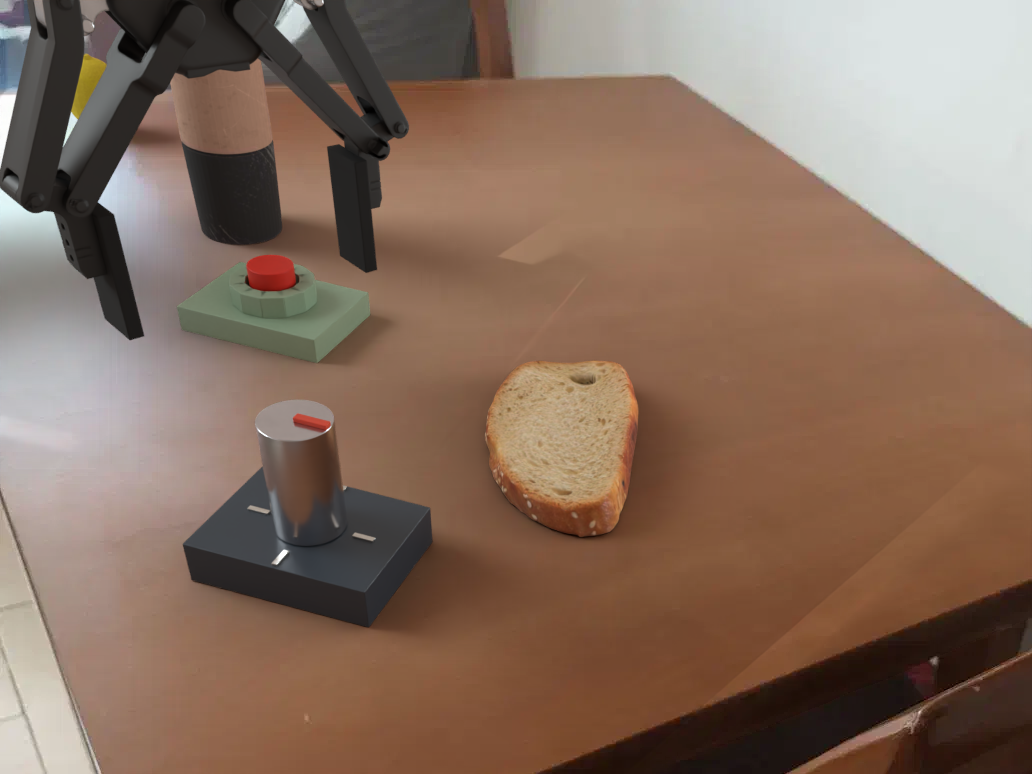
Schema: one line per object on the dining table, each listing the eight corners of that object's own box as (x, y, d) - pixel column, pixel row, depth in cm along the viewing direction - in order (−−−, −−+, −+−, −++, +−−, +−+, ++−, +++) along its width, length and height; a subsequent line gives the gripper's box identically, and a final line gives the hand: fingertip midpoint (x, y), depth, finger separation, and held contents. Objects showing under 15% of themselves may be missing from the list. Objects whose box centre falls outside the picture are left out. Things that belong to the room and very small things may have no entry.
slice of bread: (580, 552, 77) (582, 510, 75) (405, 441, 84) (402, 399, 82) (736, 451, 89) (742, 411, 87) (572, 361, 96) (573, 322, 94)
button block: (181, 330, 92) (171, 285, 89) (243, 284, 99) (236, 241, 96) (317, 363, 91) (311, 319, 88) (370, 315, 98) (366, 272, 95)
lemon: (61, 133, 117) (40, 53, 112) (104, 119, 121) (86, 41, 116) (102, 147, 116) (83, 67, 111) (144, 132, 120) (127, 54, 115)
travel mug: (225, 205, 110) (186, -17, 97) (300, 220, 109) (270, 0, 96) (181, 236, 104) (134, 5, 91) (260, 252, 103) (223, 22, 91)
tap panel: (191, 580, 70) (181, 541, 68) (270, 499, 77) (263, 462, 75) (369, 628, 69) (364, 590, 67) (433, 541, 76) (430, 505, 74)
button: (240, 288, 91) (236, 268, 90) (264, 270, 94) (261, 250, 93) (281, 297, 91) (278, 278, 90) (304, 279, 94) (302, 260, 93)
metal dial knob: (260, 536, 70) (238, 425, 65) (297, 496, 73) (279, 388, 68) (325, 553, 70) (309, 443, 64) (360, 512, 73) (347, 405, 68)
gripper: (-133, -129, 39) (39, 394, 52) (462, -144, 54) (476, 263, 68) (-207, -173, 42) (-27, 328, 56) (373, -175, 58) (403, 218, 71)
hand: (249, 293), depth 62 cm, fingers open, 13 cm apart
